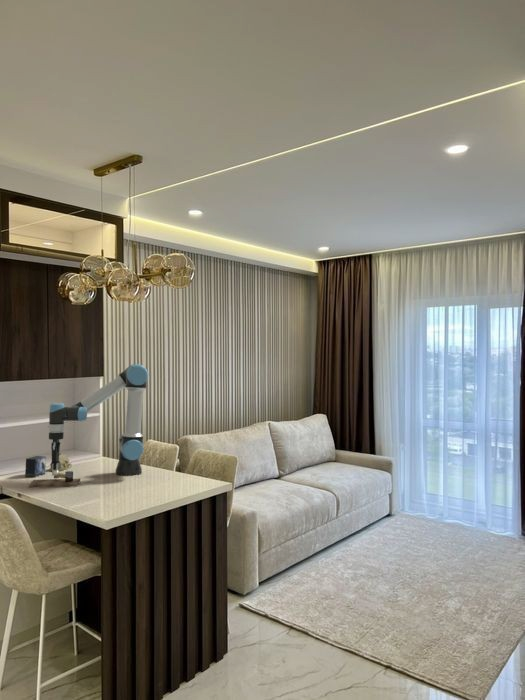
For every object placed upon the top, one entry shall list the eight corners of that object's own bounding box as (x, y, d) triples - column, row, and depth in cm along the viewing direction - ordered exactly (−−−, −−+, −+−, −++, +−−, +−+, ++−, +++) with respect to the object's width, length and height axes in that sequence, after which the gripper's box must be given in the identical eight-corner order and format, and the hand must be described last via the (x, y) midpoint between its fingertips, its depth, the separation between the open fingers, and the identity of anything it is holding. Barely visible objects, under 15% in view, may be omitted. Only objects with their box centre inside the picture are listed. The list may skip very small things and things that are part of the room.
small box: (34, 477, 301) (35, 459, 302) (24, 477, 302) (25, 458, 303) (46, 474, 312) (46, 456, 312) (36, 473, 313) (36, 455, 313)
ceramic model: (62, 472, 319) (62, 455, 319) (45, 471, 321) (45, 454, 321) (74, 468, 332) (75, 451, 333) (58, 467, 335) (58, 451, 335)
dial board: (80, 481, 293) (80, 478, 294) (77, 486, 281) (77, 483, 281) (33, 482, 289) (33, 479, 289) (28, 487, 276) (28, 484, 276)
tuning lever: (74, 480, 287) (74, 471, 287) (69, 481, 284) (69, 472, 284) (57, 478, 292) (57, 469, 292) (51, 479, 288) (51, 470, 289)
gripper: (51, 430, 298) (49, 473, 297) (46, 433, 285) (45, 477, 284) (65, 430, 299) (64, 472, 299) (61, 433, 287) (60, 477, 286)
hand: (54, 475), depth 291 cm, fingers closed
